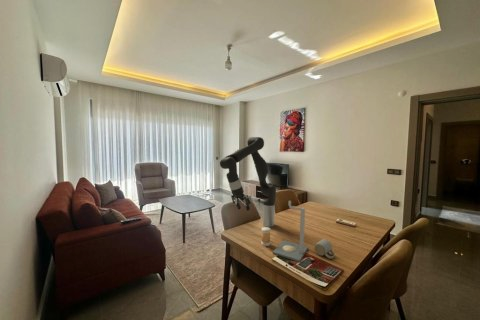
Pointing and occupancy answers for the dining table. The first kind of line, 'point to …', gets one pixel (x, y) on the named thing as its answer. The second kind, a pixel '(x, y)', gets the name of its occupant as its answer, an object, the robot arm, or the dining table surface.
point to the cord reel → (265, 236)
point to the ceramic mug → (324, 248)
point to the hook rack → (293, 249)
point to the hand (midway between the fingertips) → (243, 209)
